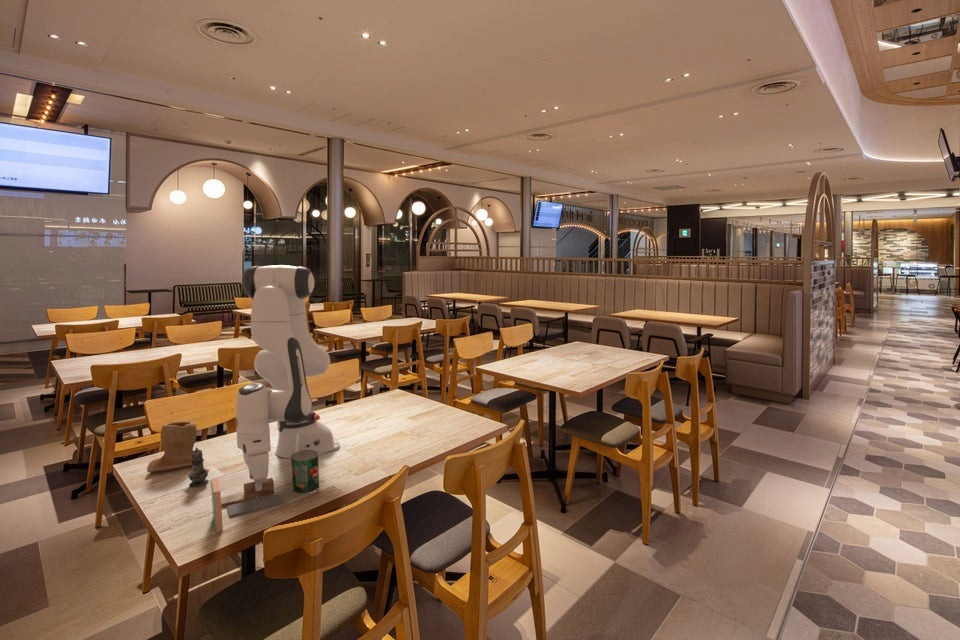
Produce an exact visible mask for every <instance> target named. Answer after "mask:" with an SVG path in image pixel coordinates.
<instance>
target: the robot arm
mask: <svg viewBox="0 0 960 640" xmlns="http://www.w3.org/2000/svg"><path fill="white" fill-rule="evenodd" d="M241 283H242V289H243V291H244V293H245V294H246V295H247V297H249V298H251V300H252V304H251V311H250V334H251V338H252V341H254V343H255V344H256V345H257V346H258V347H259V348H260V349H262V350H259V352H258V353H257V354H256V355H255V358H254V361H253V362H254V363H253V364H254V370H255V372H256V373H257V374H258V376H259V377H261V378H262V379H265V380H266V382H268V383H269V384H270V385H271V387H272V388H269V387H266V385H265V384H263V383H260V382H253V383H247V384H245V385H243V386H241V387H240V388H238V390H237V393H236V399H235V418H236V420H237V427H236V443H237V445H236V446H237V448H238V449H240V450H241V451H242V455H243V456H242V457H243V460H244V462H245V465H246V466H247V469H248V475H249V478H250V480H253V482H255V490H256V491H260V490H262V482H263V480H264V479H268V476H269V462H270V460H269V457H270V456H269V455H270V454H269V452H271V451H272V449H271V448H272V445H271V432H270V431H271V429H270V424H269V421H272V422H274V421H276V422H277V424H276V425H277V431H278V439H277V446H276V450H275V455H276V456H278V457H280V458H283V459H291V456H292V454H294V453H295V452H298V451H302V450H315V451H317V452H318V454H319V455H322V454H321V453H323V454H325V453H324V452H326V453H328V452H327V451H329V452H332V451H331V450H333V451H336V450H338V449H339V448H340V447H339V446H341V445H340V441H339V440H338V439H337V438H336V437H334V435H333V432H332V431H331V429H330V427H328V426H327V425H326V424H324V423H322V422H320V419H321V415H319V414H318V413H316V412H315V411H313V409H312V407H313V406H312V405H313V403H312V398H311V393H310V391H309V388H308V383H307V378H313V377H317V376H322V375H324V374H326V372H328V370H329V368H330V365H331V358H330V354H329V353H328V351H327V350H326V349H325V348H323V347H322V346H320V345H319V344H317V342H316V341H315V340H314V339H313V337H312V336H311V334H310V332H309V328H308V321H307V313H306V312H307V310H306V302H305V298H309V297H310V296H311V295H312V294H313V292H314V288H315V278H314V275H313V272H312V271H311V269H310V268H307V267H305V266H301V265H299V266H294V265H285V264H278V265H263V266H260V265H254V266H253V265H252V266H249V267H248V268H246V270H244V272H243V275H242V282H241ZM335 449H336V450H335Z"/></svg>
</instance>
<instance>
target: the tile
mask: <svg viewBox="0 0 960 640" xmlns="http://www.w3.org/2000/svg"><path fill="white" fill-rule="evenodd" d="M210 486H211V489H210V490H211V503H212V517H213V523H214V527H215V531H216V532H217V531H218V532H220V531H223V530H224V528H223V512H222V511H223V509H222V507H221V497H222V496H221V488H220V484H219V479H218V477H213V478H211V479H210Z"/></svg>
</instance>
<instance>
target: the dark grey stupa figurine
mask: <svg viewBox="0 0 960 640" xmlns="http://www.w3.org/2000/svg"><path fill="white" fill-rule="evenodd" d="M204 461H205V459H204V458H203V450H201V449H199V448H198V447H195V449H193V452H192V461H191V463H192V465H191V471H189V472H188V473H187V477H188V479H189V481H191V482H190V483H189V485H188V486H189V487H190V488H200V487H203V486H205V485H207V484H208V483H209V480H208V479H206V478H208V475H209V472H210V470H209V469H207V468H205V467H204Z"/></svg>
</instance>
